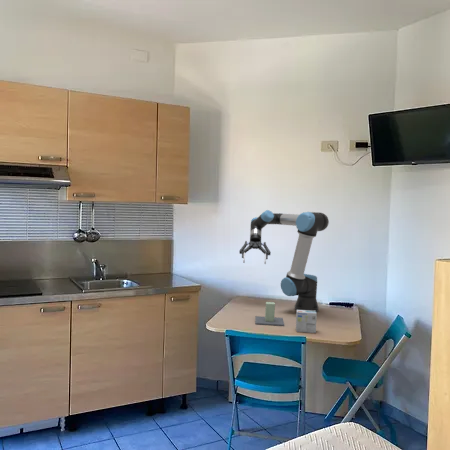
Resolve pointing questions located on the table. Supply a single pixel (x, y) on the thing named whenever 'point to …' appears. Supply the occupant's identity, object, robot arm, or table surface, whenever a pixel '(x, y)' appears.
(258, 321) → the mat
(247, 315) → the table surface
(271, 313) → the sage block
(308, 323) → the light bulb box
